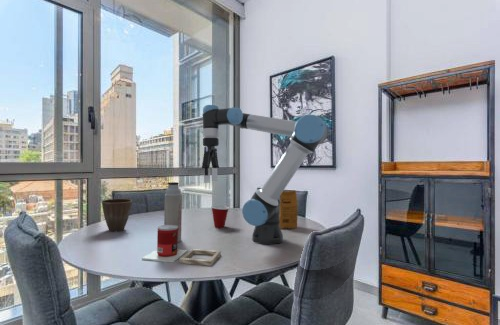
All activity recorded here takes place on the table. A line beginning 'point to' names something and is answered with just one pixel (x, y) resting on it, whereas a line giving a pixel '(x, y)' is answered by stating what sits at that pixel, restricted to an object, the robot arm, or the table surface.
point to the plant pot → (116, 213)
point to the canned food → (167, 240)
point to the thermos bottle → (173, 207)
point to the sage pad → (156, 257)
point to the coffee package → (288, 209)
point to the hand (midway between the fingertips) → (211, 181)
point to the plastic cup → (219, 215)
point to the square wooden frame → (198, 261)
